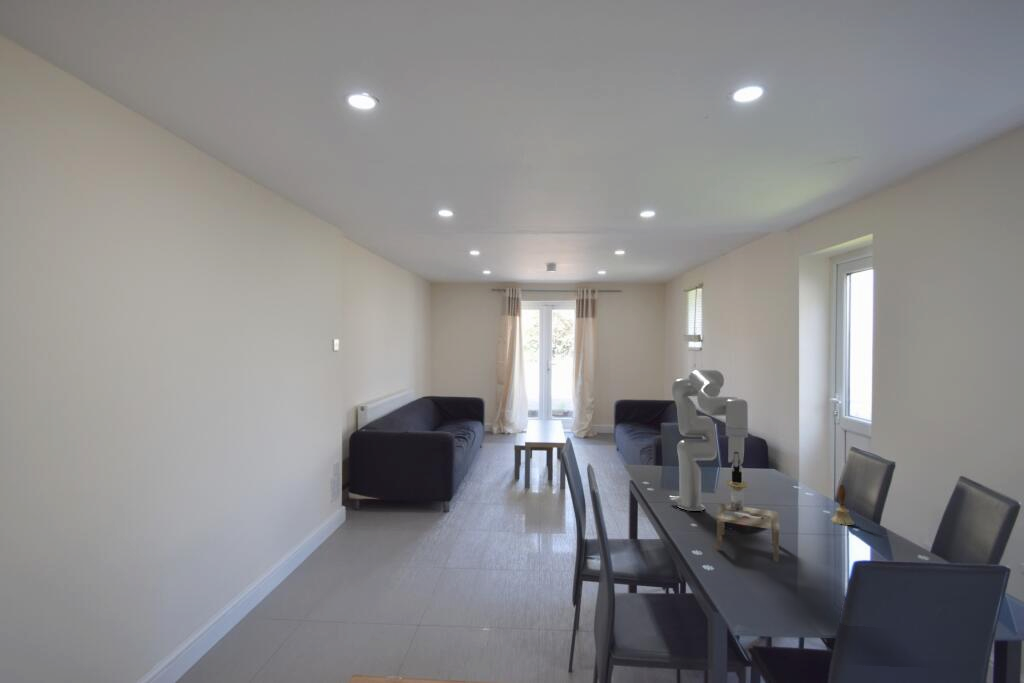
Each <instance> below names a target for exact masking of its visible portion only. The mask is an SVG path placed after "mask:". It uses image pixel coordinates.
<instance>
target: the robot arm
mask: <svg viewBox="0 0 1024 683" xmlns="http://www.w3.org/2000/svg"><path fill="white" fill-rule="evenodd" d="M724 383H725V378H724V375H723V374H722V373H721V372H720V371H719V370H716V369H697V370H694V371H693V370H692V372H690V373H689V375H688V377H685V378H683V377H682V378H678V379H676V380H674V381H673V383H672V387H671V391H672V392H671V393H672V397H673V400H674V403H675V405H676V406H675V407H676V409H677V410H676V413H677V424H678V425H677V426H678V430H679V431H678V432H679V433H680V435H682V436H684V437H701V438H702V439H700V438H699V439H697V438H690V439H689V438H687V439H686V438H684V439H682V440H680V441H679V442H678V443H677V445H676V450H677V451H676V452H677V456H678V476H679V482H678V483H679V484H678V486H679V490H678V491H679V492H678V493H679V495H676V496H674V495H669V500H670V501H671V502H676V503H678V505H680V507H681V508H682V507H683V509H686V510H691V511H701V512H703V511H702V510H704V509H706V507H705V505H704V504H702V469H701V467H700V466H699V465H698V463H697V461H713V460H715V459H716V458H717V455H718V446H717V437H716V436H717V435H716V427H715V424H714V421H713V419H712V417H725V436H726V437H728V442H727V444H728V445H727V447H728V449H727V450H728V454H727V455H728V458H727V460H728V461H727V462H728V463H729V464H731V463H732V464H731V465H733V471H732V470H731V480H732V482H736V483H741V482H742V481H743V471H742V472H741V466H742V464H743V463H744V457H745V456H744V455H745V438H748V437H749V435H748V434H749V432H748V431H749V430H748V425H749V423H748V422H749V419H748V418H749V416H748V408H749V407H748V406H749V405H748V401H747V400H746V399H743V398H742V399H741V398H738V397H737V396H736V397H735V396H719V395H720V393H721V389H722V388H723V386H724ZM691 397H696V399H697V404H698V407H699V409H700V410H701V411H702V412H704V413H705V414H706V415H697V414H698V413H697V407H696V403H694V401H693V400H692V399H691ZM707 415H708V416H707ZM709 416H710V417H709ZM711 416H712V417H711ZM704 511H705V510H704Z"/></svg>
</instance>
